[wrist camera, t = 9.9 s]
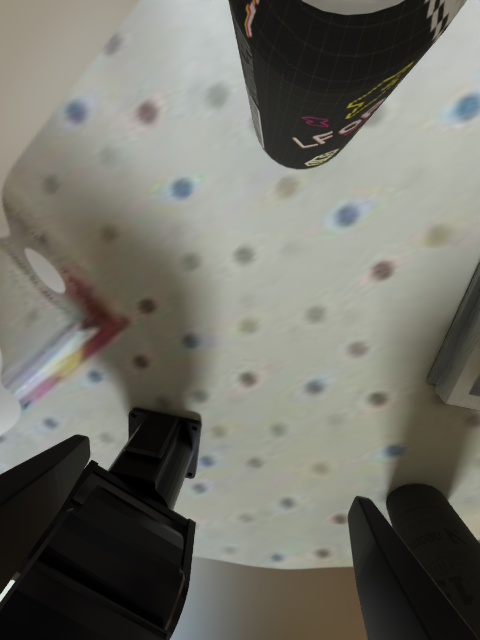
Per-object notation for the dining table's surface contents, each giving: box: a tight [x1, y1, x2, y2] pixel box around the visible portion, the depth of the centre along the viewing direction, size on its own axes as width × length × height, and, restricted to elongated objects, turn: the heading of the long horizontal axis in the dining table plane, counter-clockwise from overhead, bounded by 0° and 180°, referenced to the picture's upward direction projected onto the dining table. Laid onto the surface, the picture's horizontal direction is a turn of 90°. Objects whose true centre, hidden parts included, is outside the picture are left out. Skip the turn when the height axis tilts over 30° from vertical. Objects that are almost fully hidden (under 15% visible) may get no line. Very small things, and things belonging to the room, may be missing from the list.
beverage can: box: [229, 0, 467, 170], centre depth 9 cm, size 6×6×12 cm
